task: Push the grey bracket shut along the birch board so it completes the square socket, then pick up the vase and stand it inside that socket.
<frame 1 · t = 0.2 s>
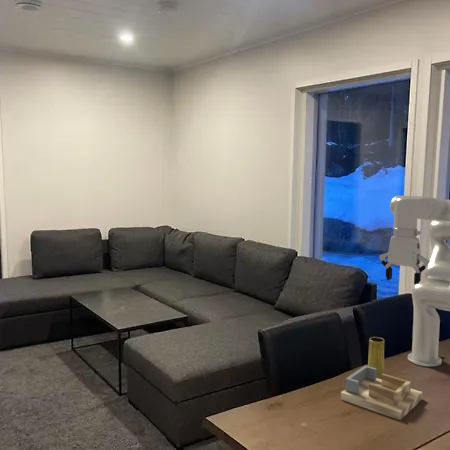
hand: (402, 281, 170), 36 cm above the table, tool pointing down, fingers open, 9 cm apart
grey bracket: (361, 379, 165), point 5 cm above the table, slide at 6.0 cm
board: (381, 399, 160), on the table
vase: (375, 377, 177), on the table
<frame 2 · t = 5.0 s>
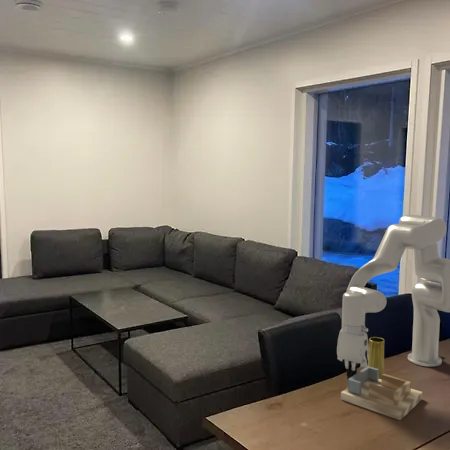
hand: (351, 379, 167), 4 cm above the table, tool pointing down, fingers closed
grey bracket: (363, 379, 164), point 5 cm above the table, slide at 5.1 cm, touching gripper
everything else where it was.
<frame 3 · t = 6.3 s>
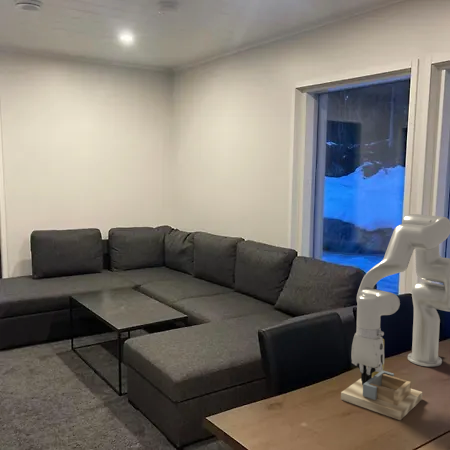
hand: (366, 384, 164), 4 cm above the table, tool pointing down, fingers closed
grey bracket: (378, 384, 160), point 5 cm above the table, slide at -0.2 cm, touching gripper
everything else where it was.
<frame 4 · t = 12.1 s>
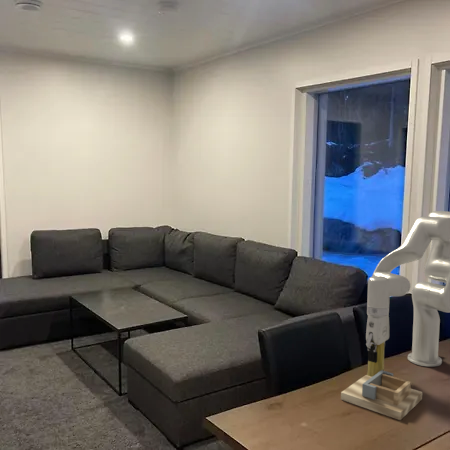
hand: (376, 358, 177), 7 cm above the table, tool pointing down, fingers closed on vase, 5 cm apart
grey bracket: (378, 384, 161), point 5 cm above the table, slide at 0.0 cm
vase: (375, 377, 177), on the table, touching gripper
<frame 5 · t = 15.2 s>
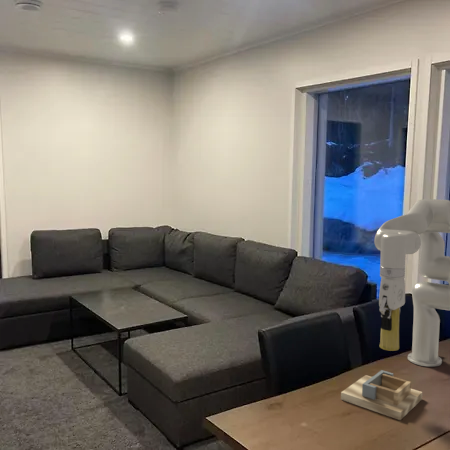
hand: (390, 326, 156), 25 cm above the table, tool pointing down, fingers closed on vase, 5 cm apart
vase: (389, 348, 157), point 18 cm above the table, touching gripper
everything else where it was.
when the fingers open (10 cm above the table, at t = 18.4 s): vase stays where it is, resting on board.
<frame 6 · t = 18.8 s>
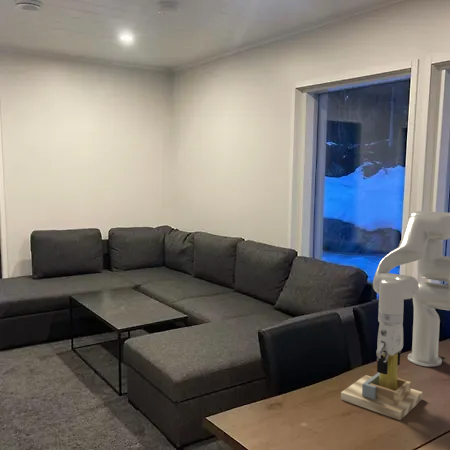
hand: (388, 368, 158), 11 cm above the table, tool pointing down, fingers open, 9 cm apart
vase: (387, 394, 159), point 2 cm above the table, touching board
everything else where it was.
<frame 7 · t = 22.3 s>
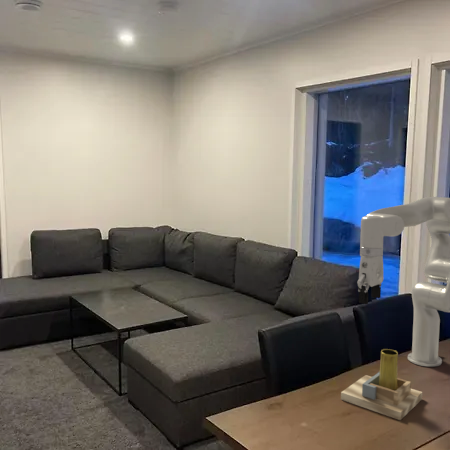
hand: (369, 300, 169), 30 cm above the table, tool pointing down, fingers open, 9 cm apart
nothing on the table moved.
at the end: grey bracket slide at 0.0 cm; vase 0.2 cm from the target spot on the board, point 2.3 cm above the board's base; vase tilted 0° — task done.
